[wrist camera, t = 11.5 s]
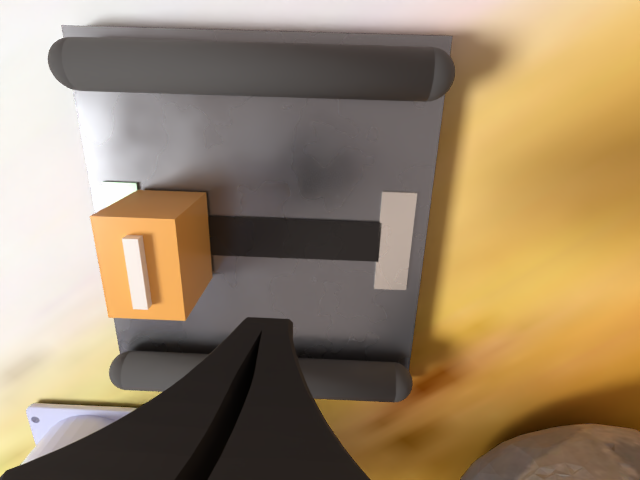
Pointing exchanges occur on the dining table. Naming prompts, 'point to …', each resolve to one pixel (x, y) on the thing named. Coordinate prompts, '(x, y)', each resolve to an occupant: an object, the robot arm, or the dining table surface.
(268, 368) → the robot arm
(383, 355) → the panel
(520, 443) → the gray stone pot
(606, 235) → the dining table surface
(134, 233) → the toggle
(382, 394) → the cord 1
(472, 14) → the dining table surface
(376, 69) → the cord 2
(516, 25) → the dining table surface
